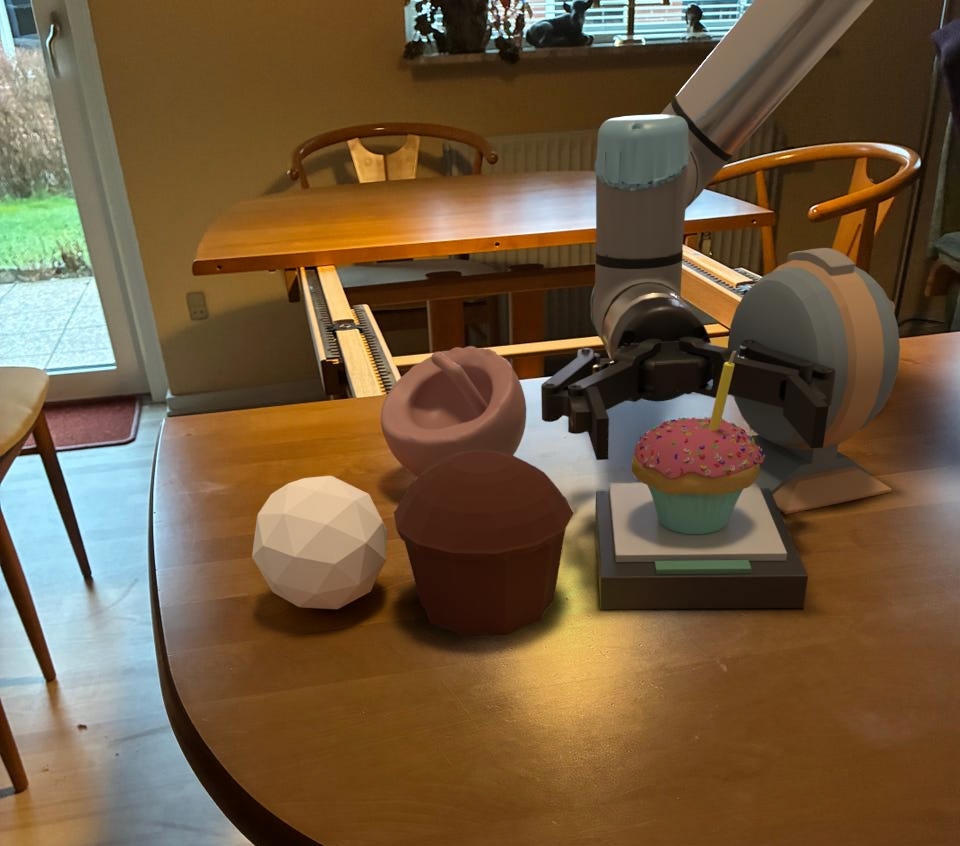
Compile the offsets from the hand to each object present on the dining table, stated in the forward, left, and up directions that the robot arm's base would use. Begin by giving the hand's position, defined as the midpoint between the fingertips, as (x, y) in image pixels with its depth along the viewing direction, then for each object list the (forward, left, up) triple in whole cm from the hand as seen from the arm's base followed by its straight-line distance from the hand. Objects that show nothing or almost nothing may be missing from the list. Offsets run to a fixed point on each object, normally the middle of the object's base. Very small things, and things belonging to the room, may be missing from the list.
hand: (711, 433), depth 61 cm
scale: (0, -3, -10) cm, 11 cm away
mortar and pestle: (+18, -18, -11) cm, 28 cm away
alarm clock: (-10, -18, -11) cm, 23 cm away
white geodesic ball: (+25, +1, -11) cm, 28 cm away
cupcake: (0, -3, -8) cm, 8 cm away
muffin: (+14, +3, -11) cm, 18 cm away
